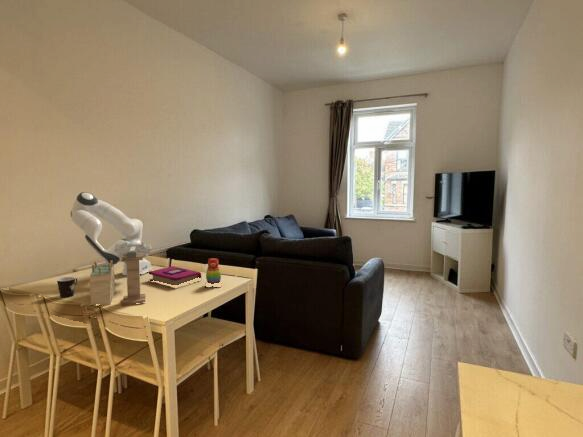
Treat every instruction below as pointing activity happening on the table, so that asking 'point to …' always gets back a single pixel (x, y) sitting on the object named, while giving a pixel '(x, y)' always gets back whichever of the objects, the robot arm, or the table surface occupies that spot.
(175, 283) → the book
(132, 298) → the walnut stand
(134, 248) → the remote
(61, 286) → the coffee mug
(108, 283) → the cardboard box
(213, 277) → the stacking bear
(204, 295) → the table surface
